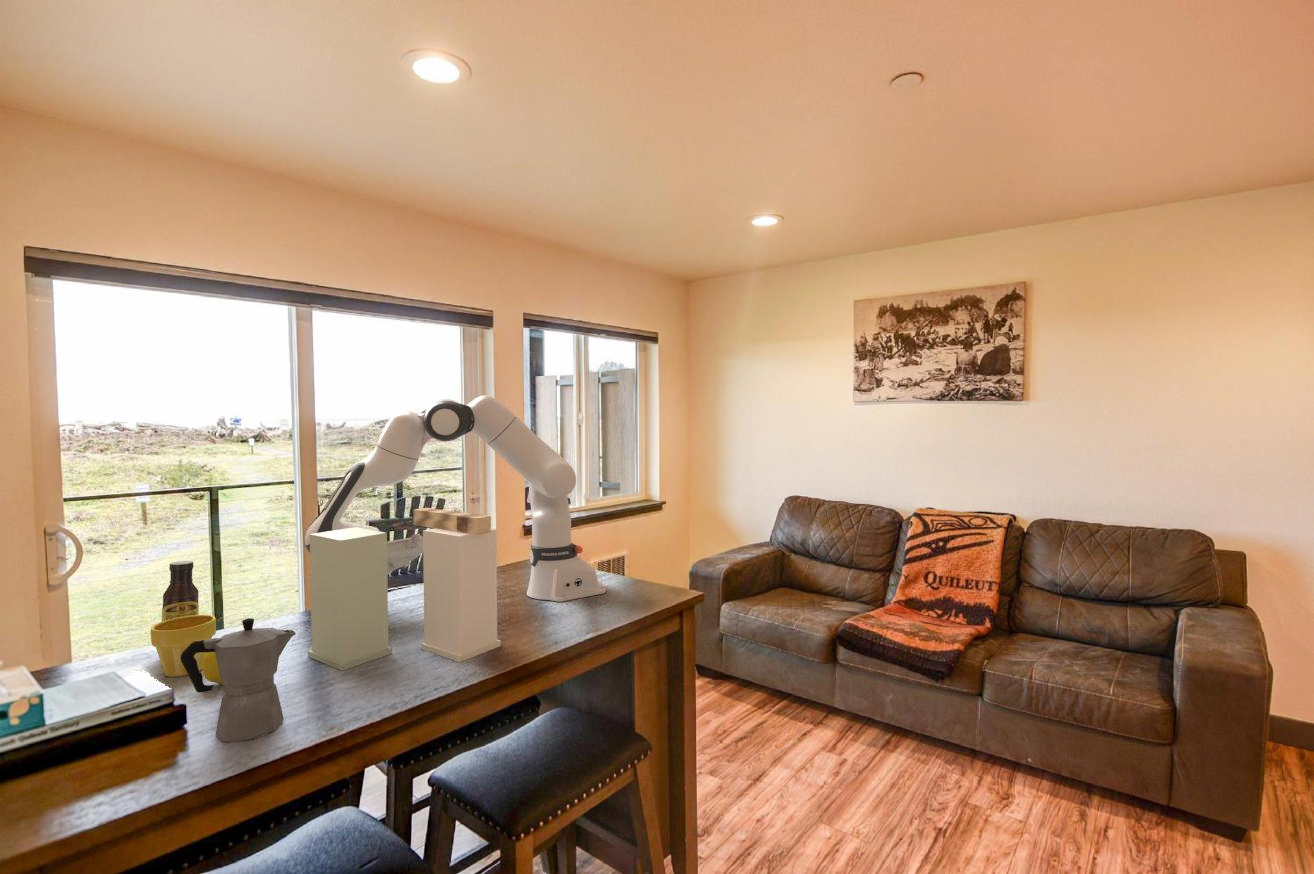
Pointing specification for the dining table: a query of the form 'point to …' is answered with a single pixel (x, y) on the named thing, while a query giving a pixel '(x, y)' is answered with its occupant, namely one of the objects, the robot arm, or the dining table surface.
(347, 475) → the robot arm
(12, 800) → the dining table surface
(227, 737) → the coffeepot
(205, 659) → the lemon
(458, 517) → the beech block
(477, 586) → the white pedestal
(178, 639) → the plant pot
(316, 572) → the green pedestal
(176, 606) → the sauce bottle
